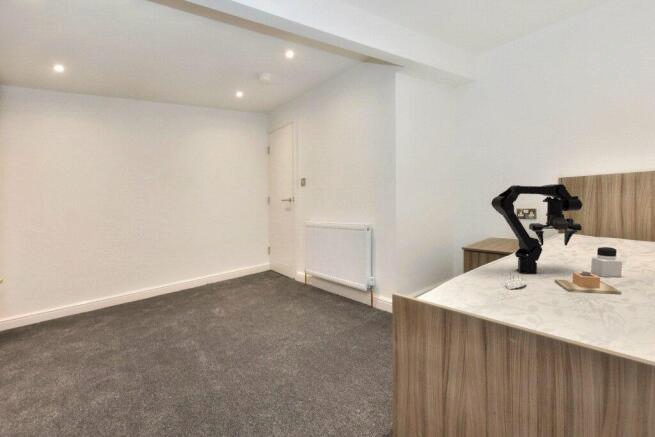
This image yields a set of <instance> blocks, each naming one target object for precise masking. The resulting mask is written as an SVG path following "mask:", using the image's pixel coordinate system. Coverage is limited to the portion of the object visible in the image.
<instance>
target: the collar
mask: <svg viewBox="0 0 655 437" xmlns="http://www.w3.org/2000/svg"><path fill="white" fill-rule="evenodd" d="M572 280H573V283H575V284H576V285H578V286H579V287H588V288H600V281H601V276H599V275H597V274H594V273H592V272H590V276H582V272H572Z"/></svg>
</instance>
